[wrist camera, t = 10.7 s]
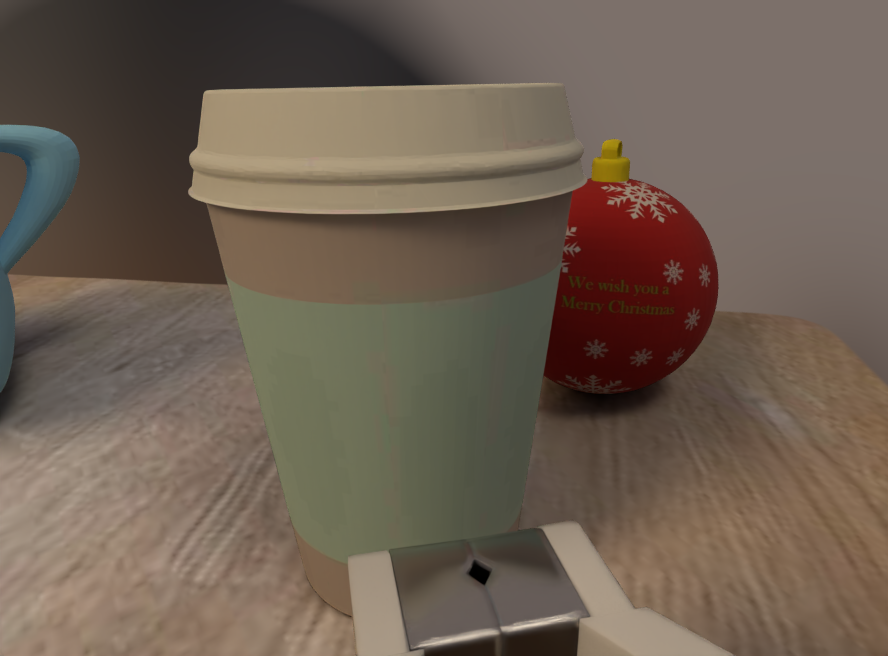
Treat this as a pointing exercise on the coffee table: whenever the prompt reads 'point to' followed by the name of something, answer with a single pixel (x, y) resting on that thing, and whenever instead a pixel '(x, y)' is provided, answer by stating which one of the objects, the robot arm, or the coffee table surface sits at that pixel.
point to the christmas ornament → (628, 284)
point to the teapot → (31, 210)
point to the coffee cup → (392, 298)
